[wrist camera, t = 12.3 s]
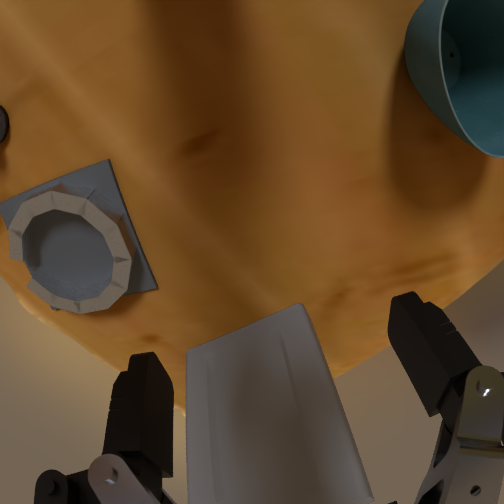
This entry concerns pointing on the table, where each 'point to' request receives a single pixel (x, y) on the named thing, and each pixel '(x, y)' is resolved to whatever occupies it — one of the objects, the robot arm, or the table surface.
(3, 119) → the peg stand
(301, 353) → the tall grey upright block
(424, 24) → the plant pot
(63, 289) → the steel ring
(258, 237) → the table surface
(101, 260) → the rubber mat
